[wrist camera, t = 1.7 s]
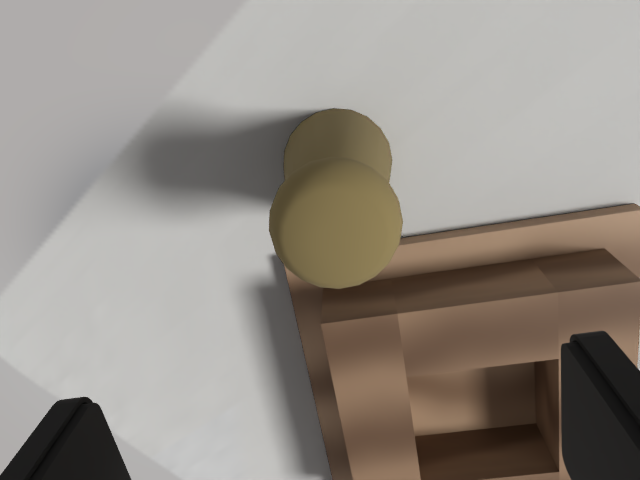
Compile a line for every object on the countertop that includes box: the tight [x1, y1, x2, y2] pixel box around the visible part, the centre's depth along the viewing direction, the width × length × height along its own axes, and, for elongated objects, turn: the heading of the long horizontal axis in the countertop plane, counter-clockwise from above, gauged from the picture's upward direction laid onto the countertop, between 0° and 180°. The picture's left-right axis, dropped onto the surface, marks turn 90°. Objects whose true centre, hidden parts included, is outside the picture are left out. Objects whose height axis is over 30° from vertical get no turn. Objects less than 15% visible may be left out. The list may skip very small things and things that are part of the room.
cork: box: [269, 108, 403, 289], centre depth 24 cm, size 6×6×11 cm
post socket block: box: [284, 204, 640, 480], centre depth 32 cm, size 20×20×5 cm
